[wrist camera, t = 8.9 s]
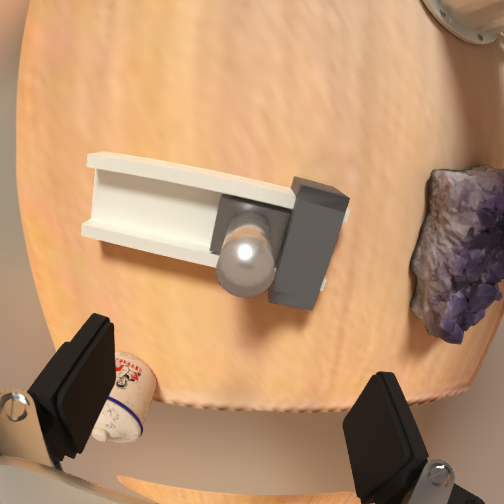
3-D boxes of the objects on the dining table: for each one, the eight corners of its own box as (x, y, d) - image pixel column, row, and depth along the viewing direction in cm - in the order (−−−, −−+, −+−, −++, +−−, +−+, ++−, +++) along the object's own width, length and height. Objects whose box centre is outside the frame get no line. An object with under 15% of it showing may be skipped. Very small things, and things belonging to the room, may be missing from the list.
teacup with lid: (149, 350, 36) (119, 419, 25) (165, 398, 39) (145, 464, 29) (73, 344, 37) (34, 400, 26) (94, 391, 40) (66, 446, 29)
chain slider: (329, 219, 28) (363, 260, 19) (315, 266, 30) (338, 324, 20) (222, 193, 27) (204, 223, 18) (212, 243, 29) (191, 294, 20)
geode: (462, 316, 34) (491, 363, 25) (389, 310, 36) (408, 364, 26) (504, 167, 26) (556, 185, 17) (426, 144, 28) (471, 153, 19)
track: (343, 189, 29) (361, 201, 24) (313, 285, 32) (322, 312, 27) (106, 140, 27) (78, 142, 22) (96, 235, 31) (71, 254, 26)
